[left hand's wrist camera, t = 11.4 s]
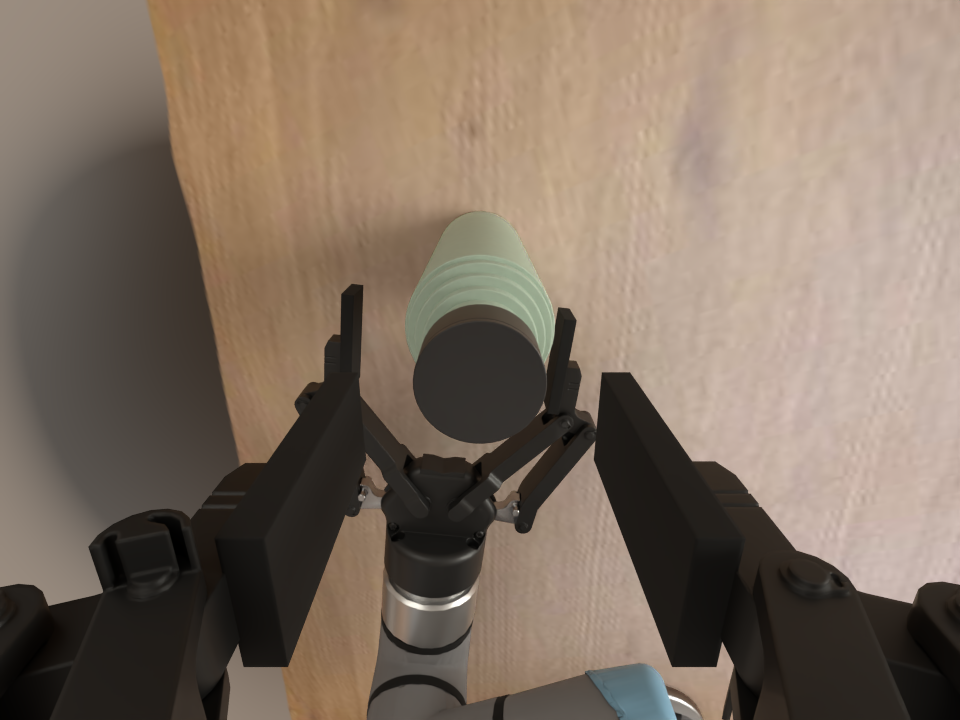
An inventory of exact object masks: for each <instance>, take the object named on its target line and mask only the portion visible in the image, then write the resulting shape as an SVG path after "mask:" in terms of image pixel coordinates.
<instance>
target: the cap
mask: <svg viewBox="0 0 960 720" xmlns="http://www.w3.org/2000/svg"><path fill="white" fill-rule="evenodd" d="M413 389H414V395H415V398H416V402H417V404H418V406H419V408H420V410H421V412H422V413H423V415H424V416H425V418H426V419H427V420H428V421H429V422H430V423H431V424H432V425H433V426H434V427H435V428H436V429H437V430H439V431H440V432H442V433H443V434H445V435H447V436H449V437H451V438H454V439H456V440H459V441H463V442H468V443H492V442H497V441H501V440H504V439H506V438H509V437H511V436H513V435H515V434H517V433H518V432H520V431H521V430H523V429H524V428H525V427H526V426H527V425H528V424H529V423H530V422H531V421H532V420H533V419H534V418H535V416H536V415H537V413H538V412H539V410H540V408H541V406H542V404H543V401H544V399H545V395H546V390H547V375H546V370H545V365H544V362H543V359H542V356H541V352H540V349H539V346H538V343H537V341H536V338H535V336H534V334H533V333H532V331H531V330H530V328H529V327H528V326H527V324H526V323H525V322H524V321H523V320H522V319H520V318H519V317H518V316H516V315H515V314H513V313H512V312H510V311H508V310H506V309H503V308H501V307H497V306H494V305H487V304H474V305H467V306H463V307H459V308H457V309H454V310H452V311H450V312H448V313H447V314H445V315H444V316H442V317H441V318H440V319H438V320H437V321H436V322H435V323H434V324H433V326H432V327H431V328H430V329H429V331H428V333H427V334H426V336H425V338H424V341H423V343H422V346H421V349H420V352H419V356H418V359H417V362H416V366H415V369H414V375H413Z"/></svg>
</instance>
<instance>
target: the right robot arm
mask: <svg viewBox="0 0 960 720" xmlns="http://www.w3.org/2000/svg"><path fill="white" fill-rule="evenodd" d="M362 308H363V285H357V284H351V285H350V286H349V287H348V288H347V289H346V290H345V291H344V292H343V293H342V294H341V335H335V334H334V335H333V336H332V337H331V338H330V339H329V341H328V342H327V344H326V346H325V361H324V362H325V363H324V380H325V379H326V378H327V376H328V375H329V373H330V372H358V377H359V378H360V363H361V335H362ZM576 321H577V320H576V319H575V317H574V315H573V314H572V312H571V310H570V309H568V308H559V307H558V312H557V318H556V323H555V332H554V339H553V344H552V347H551V352H550V357H549V363H548V369H547V374H546V375H547V390H546V395H545V399H544V403H545V407H546V409H545V410H543V411H542V412H541V413H540V414H539V415H537V416H536V417H535V418H534V419H533V420H532V421H531V422H530V423H529V424H528V425H527V426H526V427H525V428H524V429H523V430H521V431H520V432H518V433H517V434H515V435H513V436H511V437H510V438H509V439H507V440H506V441H505V442H504V443H503V444H501V445H500V446H499V447H498V448H496V449H495V450H494V451H493V452H491V453H486V454H484V455H483V456H482V457H481V458H479V459H478V460H477V461H476V462H474V463H473V464H471V463H469V462H467V461H465V459H466V458H460V457H451V458H442V457H439V456H436V455H431V454H423V457H419V458H415V457H414V456H413V455H412V453H411V452H410V451H409V450H408V448H407V447H406V446H405V445H403V444H400V443H399V442H398V441H397V440H396V439H395V437H394V436H393V435H392V434H391V432H390V431H389V430H388V429H387V428H386V426H385V425H384V424H383V423H382V422H381V420H380V419H379V418H378V417H377V415H376V414H375V413H374V412H373V411H372V409H371V408H370V407H369V406H368V405H367V403H366V402H365V401H364V400H363V399H362V397H361V396H360V399H361V410H362V421H363V431H364V442H365V452H366V453H367V454H368V456H369V457H370V458H371V459H372V460H373V461H374V463H375V464H376V465H377V466H378V467H379V468H380V470H381V472H382V476H383V478H384V480H385V481H386V482H387V483H388V485H387V486H386V487H385V489H384V490H380V489H378V488H376V487H375V485H374V483H373V481H372V478H371V477H370V476H365V473H364V469H362V472H361V474H360V477H359V480H358V482H357V485H356V488H355V490H354V493H353V496H352V498H351V501H350V504H349V506H348V509H347V512H346V514H345V515H347V516H349V517H354V516H356V515H358V514H359V511H360V509H382V511H383V513H384V514H385V516H386V520H387V525H386V541H385V557H384V564H385V567H384V571H383V590H382V609H381V629H380V639H379V649H378V656H377V662H376V667H375V672H374V677H373V682H372V687H371V691H370V696H369V702H368V710H367V720H703V718H702V715H701V713H700V711H699V709H698V707H697V706H696V704H695V703H694V702H693V701H692V700H691V699H690V698H689V697H687V696H686V695H685V694H683V693H681V692H679V691H678V690H675V689H673V688H670V687H667V686H665V684H664V681H663V679H662V677H661V675H660V674H659V673H658V672H657V671H656V670H655V669H654V668H653V667H651V666H649V665H647V664H642V663H638V664H631V665H625V666H619V667H613V668H607V669H600V670H594V671H592V670H588V671H585V674H584V675H581V676H577V677H573V678H570V679H566V680H563V681H559V682H555V683H552V684H548V685H545V686H541V687H538V688H534V689H530V690H527V691H523V692H520V693H516V694H512V695H509V694H508V695H505V696H501V697H496V698H492V699H488V700H484V701H480V702H476V703H472V704H468V705H467V704H466V700H467V665H468V654H469V645H470V636H471V627H472V623H473V617H474V614H475V608H476V600H477V593H478V586H479V579H480V571H481V566H482V560H483V553H484V546H485V540H486V533H487V529H488V527H489V526H490V524H491V523H492V522H493V521H494V520H498V521H503V522H508V523H513V524H515V529H516V531H517V532H519V533H527V532H529V531H530V530H531V528H532V525H533V522H534V519H535V516H536V513H537V510H538V509H539V507H540V506H541V505H542V504H543V503H544V501H545V500H546V499H547V498H548V497H549V495H550V494H551V493H552V492H553V491H554V489H555V488H556V487H557V486H558V485H559V483H560V482H561V481H562V480H563V479H564V477H565V476H566V475H567V474H568V473H569V472H570V470H571V469H572V468H573V467H574V466H575V464H576V463H577V462H578V461H579V460H580V458H581V457H582V456H583V455H584V454H585V452H586V451H587V450H588V449H589V448H590V446H591V445H592V444H593V443H594V442H595V440H596V431H597V429H596V426H595V424H594V422H593V419H592V417H591V415H590V414H589V413H588V412H586V411H579V410H577V409H575V406H576V401H577V396H578V391H579V386H580V381H581V377H582V376H581V372H580V368H579V366H578V364H577V362H576V361H570V360H569V357H570V352H571V347H572V342H573V337H574V331H575V326H576ZM322 383H323V382H322ZM322 383H316V382H311V383H309V384H308V385H307V386H306V387H305V389H304V390H303V391H302V393H301V394H300V395H299V397H298V398H297V399H296V401H295V408H296V410H297V411H298V413H299V415H301V413H302V412H303V410H304V409H305V408H306V406H307V405H308V403H309V402H310V400H311V399H312V398H313V396H314V395H315V393H316V392H317V390H318V389H319V388H320V386H321V385H322ZM552 443H553V444H552ZM551 444H552V445H551ZM550 445H551V446H550ZM549 446H550V447H549ZM547 447H549V448H548V450H547V451H546V452H545V453H544V455H543V456H542V457H541V458H540V460H539V461H538V462H537V463H536V465H535V466H534V467H533V468H532V470H531V471H530V472H529V473H528V475H527V476H526V477H525V478H524V480H523V481H522V483H521V484H520V486H519V489H518V491H511V493H510V495H508V497H507V498H506V499H505V500H504V501H501V502H497V501H496V499H495V497H494V495H493V494H494V493H495V492H497V491H498V490H499V488H500V487H501V484H502V483H503V482H504V481H505V480H506V479H508V478H509V477H510V476H511V475H513V474H514V473H515V472H517V471H518V470H519V469H520V468H522V467H523V466H524V465H526V464H527V463H528V462H529V461H531V460H532V459H533V458H535V457H536V456H537V455H538V454H540V453H541V452H542V451H544V450H545V449H546V448H547Z"/></svg>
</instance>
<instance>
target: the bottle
mask: <svg viewBox="0 0 960 720" xmlns="http://www.w3.org/2000/svg"><path fill="white" fill-rule="evenodd" d="M474 304H487V305H494V306H497V307H501V308H503V309H506V310H508V311H510V312H512V313H513V314H515V315H516V316H518V317H519V318H520V319H522V320H523V321H524V322H525V323H526V324H527V326H528V327H529V328H530V330H531V331H532V333H533V334H534V336H535V338H536V341H537V343H538V346H539V349H540V352H541V356H542V359H543V362H544V363H545V361H546V359H547V357H548V355H549V352H550V350H551V347H552V344H553V339H554V332H555V320H554V313H553V308H552V305H551V302H550V299H549V297H548V295H547V293H546V291H545V289H544V287H543V285H542V283H541V281H540V279H539V277H538V275H537V273H536V271H535V269H534V266H533V264H532V262H531V260H530V258H529V256H528V254H527V252H526V250H525V248H524V246H523V244H522V242H521V240H520V238H519V236H518V234H517V232H516V231H515V229H514V228H513V227H512V225H511V224H510V223H509V222H507V221H506V220H505V219H504V218H502V217H500V216H498V215H496V214H493V213H490V212H484V211H476V212H470V213H466V214H464V215H462V216H460V217H458V218H456V219H455V220H454V221H452V222H451V223H450V224H449V225H448V227H447V228H446V229H445V231H444V232H443V234H442V236H441V238H440V240H439V242H438V244H437V246H436V248H435V250H434V252H433V254H432V256H431V258H430V260H429V262H428V264H427V266H426V268H425V270H424V272H423V274H422V276H421V279H420V281H419V283H418V285H417V287H416V289H415V291H414V293H413V295H412V297H411V299H410V302H409V305H408V308H407V312H406V320H405V333H406V339H407V344H408V347H409V350H410V352H411V354H412V357H413V359H414V361H415V363H416V362H417V359H418V356H419V352H420V349H421V346H422V343H423V341H424V338H425V336H426V334H427V333H428V331H429V329H430V328H431V327H432V326H433V324H434V323H435V322H436V321H437V320H438V319H440V318H441V317H442V316H444V315H445V314H447V313H448V312H450V311H452V310H454V309H457V308H459V307H463V306H467V305H474Z"/></svg>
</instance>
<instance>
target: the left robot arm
mask: <svg viewBox="0 0 960 720" xmlns="http://www.w3.org/2000/svg"><path fill="white" fill-rule="evenodd" d="M365 461H366V453H365V442H364V431H363V421H362V410H361V399H360V388H359V377H358V372H330V373H329V375H328V376H327V378H326V379H325V380H324V382H323V383H322V385H321V386H320V388H319V389H318V390H317V392H316V393H315V395H314V396H313V398H312V399H311V400H310V402H309V403H308V405H307V406H306V408H305V409H304V410H303V412H302V413H301V415H300V416H299V418H298V419H297V420H296V422H295V423H294V425H293V426H292V428H291V429H290V430H289V432H288V433H287V435H286V436H285V438H284V439H283V441H282V442H281V443H280V445H279V446H278V448H277V449H276V451H275V452H274V453H273V455H272V456H271V458H270V459H269V461H268V462H267V463H245V464H243V465H242V466H240V467H239V468H237V469H236V470H234V471H233V472H231V473H230V474H228V475H227V476H225V477H224V478H223V480H222V481H221V482H220V484H219V485H218V486H217V487H216V488H215V490H214V491H213V492H212V496H209V497H208V498H207V500H206V501H205V502H204V503H203V505H202V509H199V510H198V511H197V512H196V514H195V515H194V516H193V517H192V518H191V520H190V518H189V517H188V516H187V515H186V514H184V513H183V512H182V511H177V510H172V509H160V510H150V511H146V512H143V513H139V514H136V515H132V516H130V517H128V518H125V519H123V520H121V521H119V522H117V523H115V524H113V525H111V526H110V527H109V528H107V529H106V530H104V531H103V532H102V533H100V534H99V535H98V536H97V537H96V538H95V539H94V541H93V542H92V543H91V544H90V546H89V550H90V553H91V556H92V559H93V562H94V565H95V568H96V571H97V574H98V577H99V580H100V583H101V585H102V589H103V593H101V594H98V595H95V596H90V597H86V598H82V599H77V600H73V601H69V602H64V603H60V604H55V605H51V606H48V604H47V602H46V599H45V597H44V594H43V592H42V591H41V590H40V589H38V588H37V587H35V586H34V585H24V584H16V585H10V586H5V587H0V720H227V713H228V704H229V694H230V683H229V677H228V672H227V668H226V667H227V664H228V663H229V661H230V658H231V657H232V654H233V653H234V651H235V649H236V647H237V645H238V644H239V649H240V653H241V657H242V662H243V666H244V667H288V665H289V663H290V660H291V657H292V655H293V652H294V649H295V647H296V644H297V641H298V639H299V636H300V633H301V631H302V628H303V626H304V623H305V620H306V618H307V615H308V612H309V610H310V607H311V604H312V602H313V599H314V596H315V594H316V591H317V588H318V586H319V583H320V580H321V578H322V575H323V573H324V570H325V567H326V565H327V562H328V559H329V557H330V554H331V551H332V549H333V546H334V543H335V541H336V538H337V535H338V533H339V530H340V527H341V525H342V522H343V520H344V517H345V514H346V512H347V509H348V506H349V504H350V501H351V498H352V496H353V493H354V490H355V488H356V485H357V482H358V480H359V477H360V474H361V472H362V469H363V467H364V464H365ZM594 461H595V464H596V467H597V469H598V472H599V474H600V477H601V480H602V482H603V485H604V488H605V490H606V493H607V496H608V498H609V501H610V504H611V506H612V509H613V512H614V514H615V517H616V520H617V522H618V525H619V527H620V530H621V533H622V535H623V538H624V541H625V543H626V546H627V549H628V551H629V554H630V557H631V559H632V562H633V565H634V567H635V570H636V573H637V575H638V578H639V580H640V583H641V586H642V588H643V591H644V594H645V596H646V599H647V602H648V604H649V607H650V610H651V612H652V615H653V618H654V620H655V623H656V626H657V628H658V631H659V633H660V636H661V639H662V641H663V644H664V647H665V649H666V652H667V655H668V657H669V660H670V663H671V665H672V667H716V666H717V662H718V657H719V653H720V649H721V644H722V642H723V644H724V646H725V648H726V650H727V652H728V654H729V656H730V658H731V660H732V662H733V664H734V668H733V672H732V676H731V680H730V684H729V688H728V692H727V696H726V701H725V705H724V710H723V716H722V719H723V720H730V717H731V713H732V712H733V720H960V585H958V584H952V583H947V582H933V583H926V584H925V585H924V586H922V587H921V588H919V589H918V592H917V594H916V597H915V599H914V602H913V604H910V603H906V602H902V601H897V600H893V599H888V598H884V597H880V596H875V595H871V594H866V593H863V592H860V591H857V590H856V589H855V587H854V586H853V584H852V583H851V581H850V580H849V579H848V577H846V576H845V575H844V574H843V573H842V572H840V571H839V570H838V569H837V568H835V567H834V566H833V565H831V564H829V563H827V562H825V561H823V560H821V559H819V558H817V557H815V556H812V555H809V554H806V553H802V552H799V551H796V550H795V548H794V547H793V546H792V545H791V543H790V542H789V541H788V540H787V538H786V537H785V536H784V535H783V533H782V532H781V531H780V530H779V528H778V527H777V526H776V525H775V524H774V522H773V521H772V520H771V519H770V517H769V516H768V515H767V514H766V512H765V511H764V510H763V509H762V507H759V504H758V502H757V501H756V500H755V499H754V497H753V496H752V495H751V494H748V490H747V489H746V487H745V486H744V485H743V484H742V483H741V481H740V480H739V479H738V478H737V476H736V475H735V474H733V473H732V472H730V471H729V470H727V469H726V468H724V467H723V466H721V465H720V464H718V463H717V462H692V461H691V459H690V458H689V456H688V455H687V453H686V452H685V451H684V449H683V448H682V446H681V445H680V443H679V442H678V441H677V439H676V438H675V436H674V435H673V433H672V432H671V430H670V429H669V428H668V426H667V425H666V423H665V422H664V420H663V419H662V418H661V416H660V415H659V413H658V412H657V410H656V409H655V408H654V406H653V405H652V403H651V402H650V400H649V399H648V398H647V396H646V395H645V393H644V392H643V390H642V389H641V388H640V386H639V385H638V383H637V382H636V380H635V379H634V378H633V376H632V375H631V373H630V372H602V377H601V388H600V399H599V410H598V421H597V431H596V442H595V453H594Z"/></svg>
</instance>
